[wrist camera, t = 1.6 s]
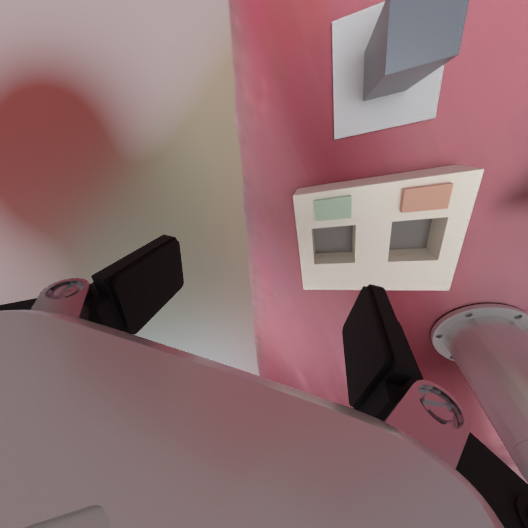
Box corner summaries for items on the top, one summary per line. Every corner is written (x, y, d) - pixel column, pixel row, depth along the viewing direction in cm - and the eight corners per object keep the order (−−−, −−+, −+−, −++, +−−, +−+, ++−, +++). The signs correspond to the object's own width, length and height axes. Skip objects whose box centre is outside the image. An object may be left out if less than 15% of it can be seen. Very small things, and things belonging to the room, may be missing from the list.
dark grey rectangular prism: (411, 36, 19) (478, -48, 11) (405, 90, 21) (458, 54, 12) (364, 51, 20) (391, -13, 12) (362, 101, 22) (384, 75, 14)
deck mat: (456, -23, 17) (460, -28, 17) (432, 118, 22) (435, 117, 21) (331, 24, 20) (331, 21, 20) (334, 139, 25) (334, 139, 24)
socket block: (456, 164, 23) (490, 169, 18) (431, 269, 29) (452, 294, 25) (297, 188, 29) (291, 197, 24) (306, 272, 35) (302, 292, 30)
